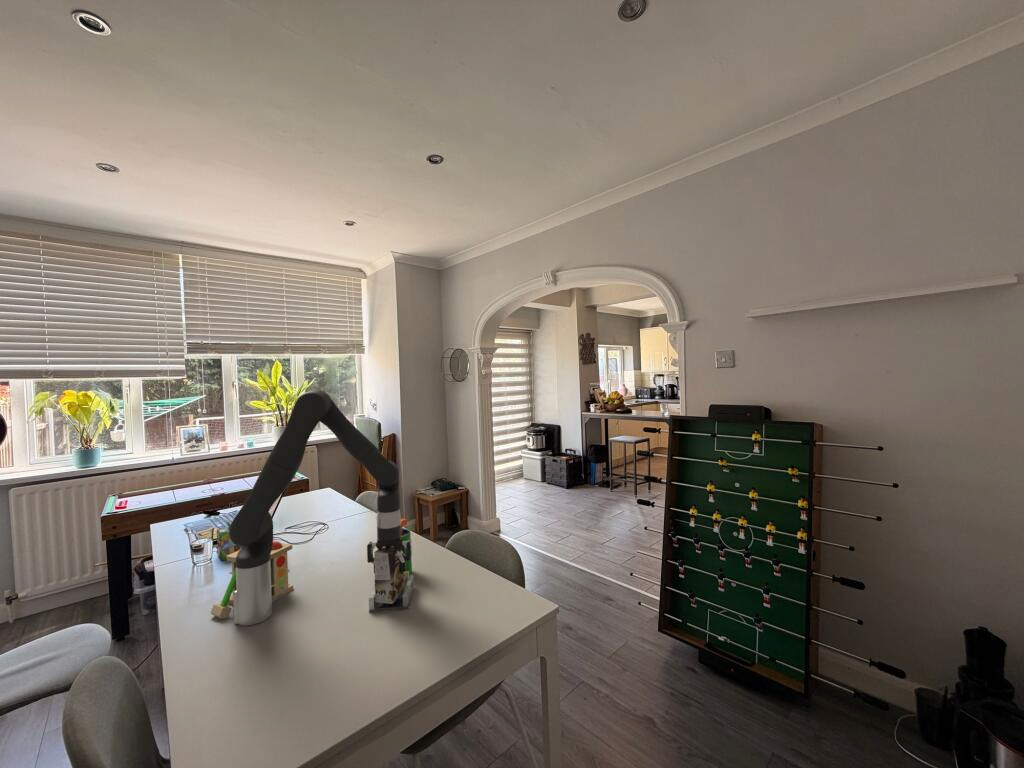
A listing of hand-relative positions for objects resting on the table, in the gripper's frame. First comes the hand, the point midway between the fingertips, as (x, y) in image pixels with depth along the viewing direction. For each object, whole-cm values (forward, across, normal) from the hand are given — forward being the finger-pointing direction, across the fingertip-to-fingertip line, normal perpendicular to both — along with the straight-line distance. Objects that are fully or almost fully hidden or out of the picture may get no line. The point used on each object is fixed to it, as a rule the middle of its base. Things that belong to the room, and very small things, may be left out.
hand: (390, 573), depth 137 cm
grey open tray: (+10, 0, +2) cm, 10 cm away
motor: (+10, -1, +22) cm, 24 cm away
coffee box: (+8, 0, 0) cm, 8 cm away
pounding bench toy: (+10, -48, +8) cm, 49 cm away
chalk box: (+10, -76, +50) cm, 92 cm away
